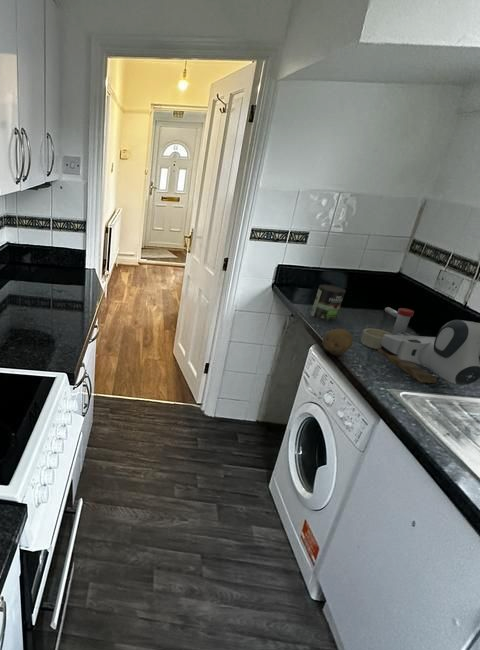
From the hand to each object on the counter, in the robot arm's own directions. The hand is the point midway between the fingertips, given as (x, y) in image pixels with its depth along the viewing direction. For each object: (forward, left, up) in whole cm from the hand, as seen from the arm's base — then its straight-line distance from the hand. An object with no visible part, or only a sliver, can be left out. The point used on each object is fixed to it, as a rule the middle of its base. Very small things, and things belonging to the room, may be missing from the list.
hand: (401, 334), depth 144 cm
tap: (+3, -5, -8) cm, 9 cm away
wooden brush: (-3, +5, -9) cm, 11 cm away
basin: (+5, -9, -9) cm, 14 cm away
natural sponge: (+18, +11, -9) cm, 23 cm away
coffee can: (+25, -29, -9) cm, 39 cm away
